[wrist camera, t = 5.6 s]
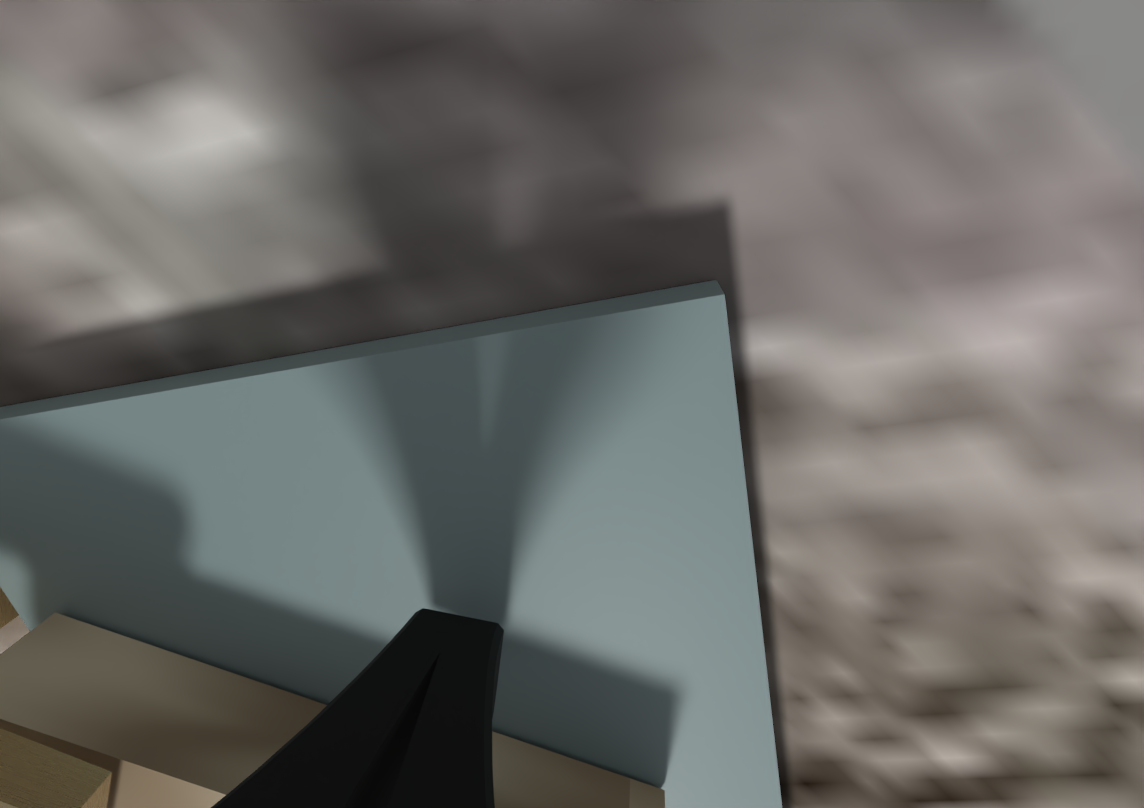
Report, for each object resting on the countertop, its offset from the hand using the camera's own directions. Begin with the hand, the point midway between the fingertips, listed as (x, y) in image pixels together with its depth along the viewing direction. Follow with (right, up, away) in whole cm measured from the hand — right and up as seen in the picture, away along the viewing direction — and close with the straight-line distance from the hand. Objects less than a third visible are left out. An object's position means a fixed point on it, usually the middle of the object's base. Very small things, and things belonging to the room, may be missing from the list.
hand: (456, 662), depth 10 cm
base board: (-1, -1, +3) cm, 4 cm away
